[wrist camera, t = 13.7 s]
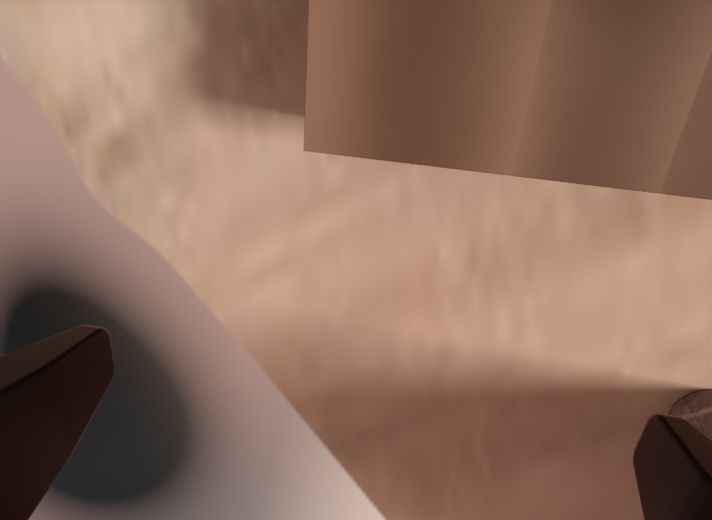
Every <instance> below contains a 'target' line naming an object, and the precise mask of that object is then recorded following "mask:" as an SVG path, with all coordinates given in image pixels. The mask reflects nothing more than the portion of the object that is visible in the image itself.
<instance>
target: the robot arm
mask: <svg viewBox="0 0 712 520" xmlns="http://www.w3.org/2000/svg"><path fill="white" fill-rule="evenodd" d="M114 372H115V363H114V357H113V351H112V345H111V339H110V334H109V332H108V331H107V329H105V328H103V327H96V326H90V325H80V326H78V327H75V328H72V329H70V330H67V331H65V332H62V333H60V334H57V335H55V336H52V337H50V338H47V339H45V340H42V341H40V342H37V343H35V344H32V345H29V346H27V347H25V348H22V349H19V350H17V351H14V352H12V353H9V354H7V355H4V356H2V357H0V520H28V519H29V518H30V516H31V515H32V513H33V512H34V510H35V509H36V507H37V506H38V504H39V503H40V502H41V500H42V499H43V497H44V496H45V494H46V492H47V491H48V490H49V488H50V487H51V485H52V484H53V482H54V481H55V479H56V478H57V476H58V475H59V473H60V472H61V470H62V469H63V467H64V466H65V464H66V462H67V461H68V460H69V458H70V456H71V455H72V453H73V451H74V449H75V448H76V446H77V444H78V442H79V441H80V438H81V437H82V435H83V433H84V431H85V429H86V427H87V426H88V424H89V422H90V420H91V418H92V416H93V415H94V412H95V411H96V409H97V407H98V405H99V403H100V401H101V400H102V397H103V396H104V394H105V392H106V390H107V388H108V387H109V385H110V383H111V381H112V379H113V376H114ZM633 461H634V469H635V474H636V479H637V484H638V489H639V494H640V499H641V504H642V509H643V514H644V519H645V520H712V440H711V439H710V438H708V437H707V436H706V435H704V434H703V433H702V432H701V431H699V430H698V429H697V428H696V427H694V426H693V425H692V424H691V423H689V422H688V421H687V420H685V419H684V418H682V417H679V416H673V415H666V414H660V413H657V414H653V415H652V416H651V417H650V418H649V420H648V422H647V424H646V426H645V428H644V430H643V433H642V435H641V437H640V439H639V442H638V444H637V446H636V448H635V451H634V458H633Z"/></svg>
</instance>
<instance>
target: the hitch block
mask: <svg viewBox="0 0 712 520" xmlns="http://www.w3.org/2000/svg"><path fill="white" fill-rule="evenodd" d="M304 151H310V152H318V153H326V154H335V155H343V156H351V157H360V158H368V159H376V160H385V161H393V162H401V163H410V164H418V165H426V166H435V167H443V168H451V169H460V170H468V171H476V172H485V173H493V174H501V175H510V176H518V177H526V178H535V179H543V180H551V181H559V182H568V183H576V184H584V185H593V186H601V187H609V188H618V189H626V190H634V191H643V192H651V193H659V194H668V195H676V196H684V197H693V198H701V199H709V200H712V0H309V15H308V44H307V72H306V101H305V129H304Z"/></svg>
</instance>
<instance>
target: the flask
mask: <svg viewBox="0 0 712 520" xmlns="http://www.w3.org/2000/svg"><path fill="white" fill-rule="evenodd" d="M669 415H673V416H679V417H682V418H684V419H685V420H687V421H688V422H689V423H691V424H692V425H693V426H694V427H696V428H697V429H698V430H699V431H701V432H702V433H703V434H704V435H706V436H707V437H708V438H710V439H711V440H712V390H702V391H697V392H694V393H691V394H688V395H686V396H684V397H683V398H681V399H680V400H679V401H677V402H676V403H675V404H674V405H673V407H672V408H671V410H670V413H669Z"/></svg>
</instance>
